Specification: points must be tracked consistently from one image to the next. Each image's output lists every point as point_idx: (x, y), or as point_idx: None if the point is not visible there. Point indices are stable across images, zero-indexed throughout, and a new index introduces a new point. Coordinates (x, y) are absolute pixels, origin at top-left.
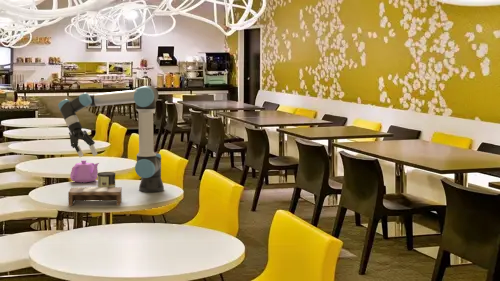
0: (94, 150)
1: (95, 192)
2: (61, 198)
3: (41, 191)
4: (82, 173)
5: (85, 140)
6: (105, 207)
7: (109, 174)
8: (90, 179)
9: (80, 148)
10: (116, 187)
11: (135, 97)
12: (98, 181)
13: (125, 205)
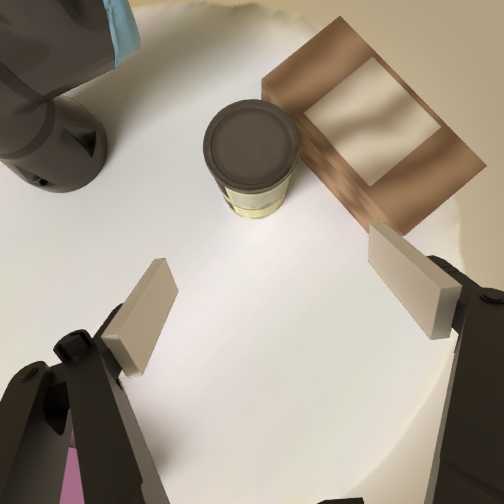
0: (153, 287)
1: (407, 85)
2: (375, 299)
3: (333, 468)
4: (77, 498)
5: (147, 457)
6: None
7: (261, 115)
8: (72, 448)
9: (411, 261)
10: (278, 90)
11: None
12: (290, 176)
13: None
